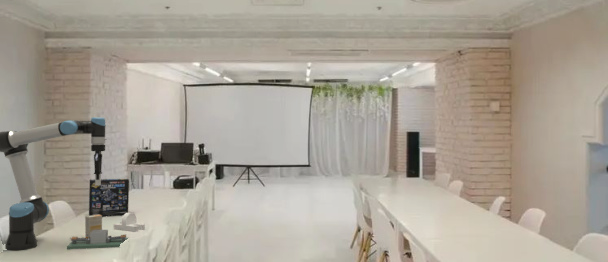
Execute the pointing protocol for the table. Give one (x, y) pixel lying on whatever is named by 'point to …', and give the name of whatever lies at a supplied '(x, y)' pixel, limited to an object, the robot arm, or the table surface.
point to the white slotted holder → (129, 223)
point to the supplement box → (92, 224)
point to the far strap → (117, 237)
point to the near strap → (79, 239)
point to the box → (109, 197)
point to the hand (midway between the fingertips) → (98, 185)
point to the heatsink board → (96, 241)
